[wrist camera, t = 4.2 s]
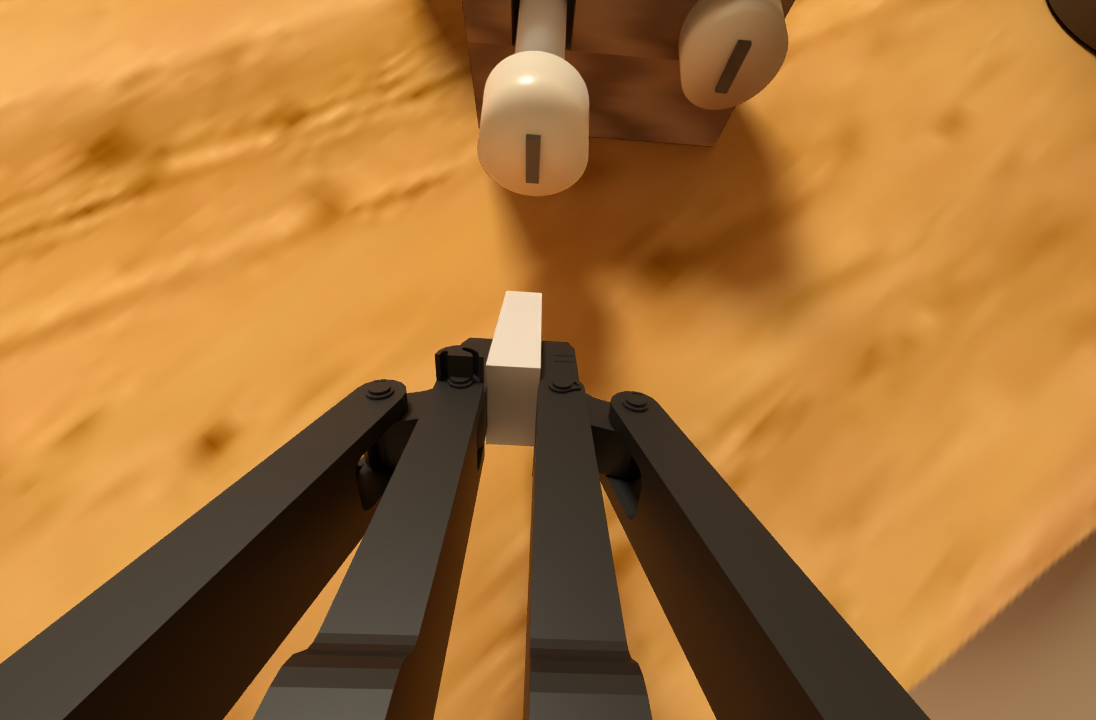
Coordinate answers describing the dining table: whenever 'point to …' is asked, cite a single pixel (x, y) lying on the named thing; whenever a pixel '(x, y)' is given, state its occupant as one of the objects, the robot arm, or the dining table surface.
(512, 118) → the knob
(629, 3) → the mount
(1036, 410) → the dining table surface
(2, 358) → the dining table surface
